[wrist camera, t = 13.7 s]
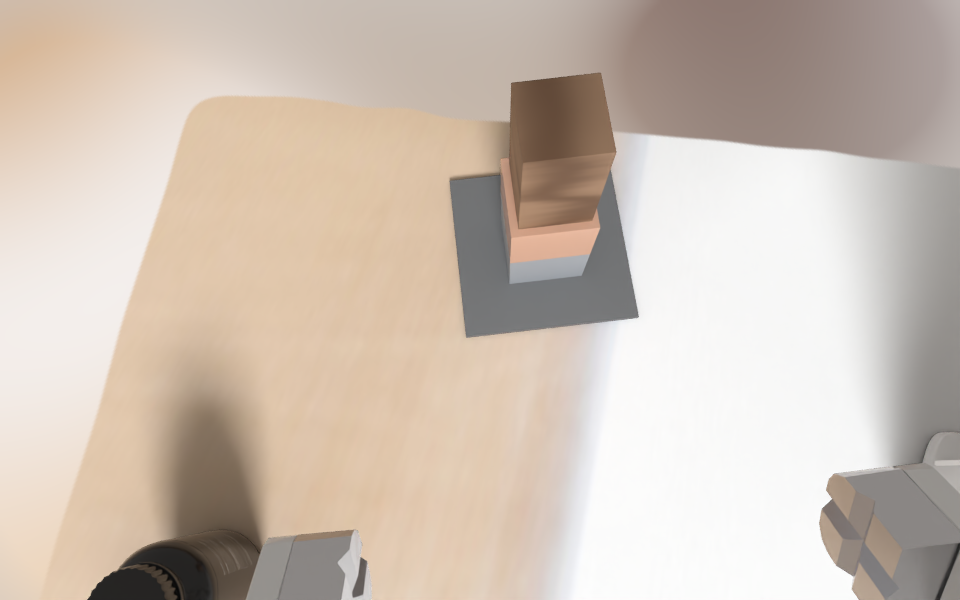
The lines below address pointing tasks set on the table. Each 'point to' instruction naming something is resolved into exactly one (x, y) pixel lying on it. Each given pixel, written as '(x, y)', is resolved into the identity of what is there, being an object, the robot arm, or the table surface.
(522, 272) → the tower bottom
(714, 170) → the table surface
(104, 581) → the supplement bottle
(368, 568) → the robot arm
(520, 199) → the walnut post
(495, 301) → the rubber mat
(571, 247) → the tower top
